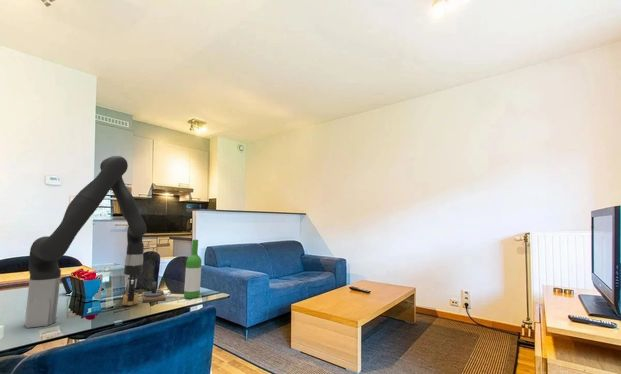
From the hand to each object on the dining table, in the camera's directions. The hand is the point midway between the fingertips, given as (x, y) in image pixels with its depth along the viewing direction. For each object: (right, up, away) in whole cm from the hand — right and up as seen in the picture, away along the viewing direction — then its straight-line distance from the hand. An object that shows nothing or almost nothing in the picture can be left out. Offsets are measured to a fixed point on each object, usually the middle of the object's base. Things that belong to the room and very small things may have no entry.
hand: (130, 299), depth 146 cm
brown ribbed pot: (0, -2, 0) cm, 2 cm away
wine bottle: (+22, -5, +17) cm, 29 cm away
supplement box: (-24, -3, +5) cm, 24 cm away
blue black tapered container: (-37, -4, +19) cm, 42 cm away
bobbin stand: (+4, -4, +13) cm, 14 cm away
